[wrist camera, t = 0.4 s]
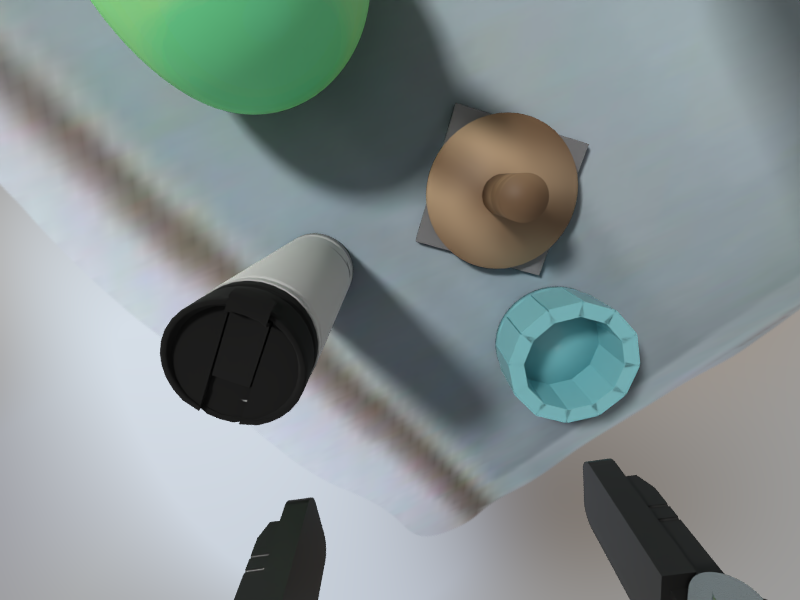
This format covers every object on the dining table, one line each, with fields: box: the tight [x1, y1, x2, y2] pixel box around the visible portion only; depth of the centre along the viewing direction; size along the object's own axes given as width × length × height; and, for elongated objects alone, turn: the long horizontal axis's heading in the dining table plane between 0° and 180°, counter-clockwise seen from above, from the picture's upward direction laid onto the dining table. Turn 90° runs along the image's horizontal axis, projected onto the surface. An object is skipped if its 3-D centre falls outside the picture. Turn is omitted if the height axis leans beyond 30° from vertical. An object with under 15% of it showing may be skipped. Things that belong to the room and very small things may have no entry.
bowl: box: [495, 286, 640, 423], centre depth 36 cm, size 10×10×5 cm
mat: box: [416, 103, 589, 275], centre depth 34 cm, size 11×11×1 cm
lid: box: [426, 113, 578, 269], centre depth 30 cm, size 12×12×7 cm
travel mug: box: [160, 233, 353, 425], centre depth 26 cm, size 6×7×20 cm
